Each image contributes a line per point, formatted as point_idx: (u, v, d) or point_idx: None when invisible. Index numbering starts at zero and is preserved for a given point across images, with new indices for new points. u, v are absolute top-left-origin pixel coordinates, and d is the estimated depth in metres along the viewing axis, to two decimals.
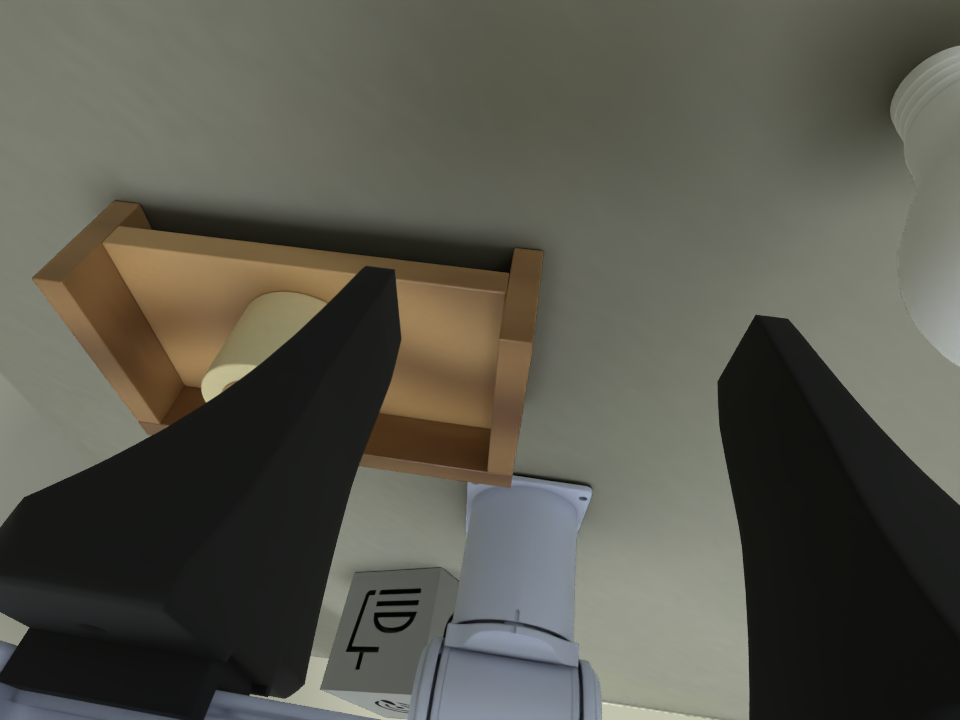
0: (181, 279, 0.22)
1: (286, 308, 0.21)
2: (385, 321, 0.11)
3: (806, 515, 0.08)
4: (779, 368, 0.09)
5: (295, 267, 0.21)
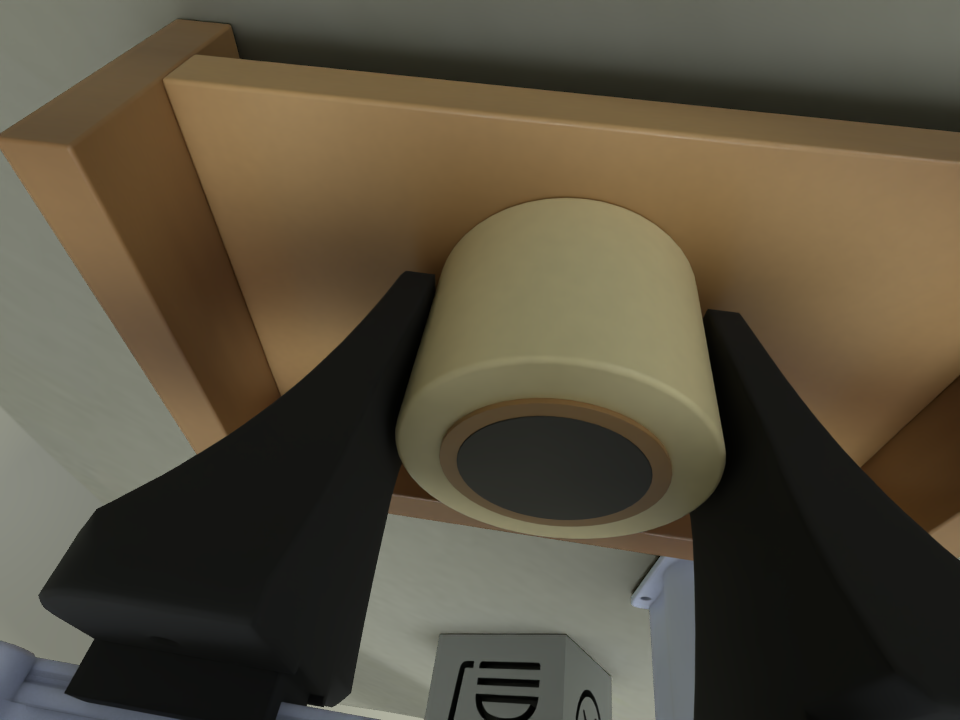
0: (331, 173, 0.10)
1: (590, 230, 0.09)
2: None
3: (744, 506, 0.08)
4: (725, 361, 0.09)
5: (625, 129, 0.09)
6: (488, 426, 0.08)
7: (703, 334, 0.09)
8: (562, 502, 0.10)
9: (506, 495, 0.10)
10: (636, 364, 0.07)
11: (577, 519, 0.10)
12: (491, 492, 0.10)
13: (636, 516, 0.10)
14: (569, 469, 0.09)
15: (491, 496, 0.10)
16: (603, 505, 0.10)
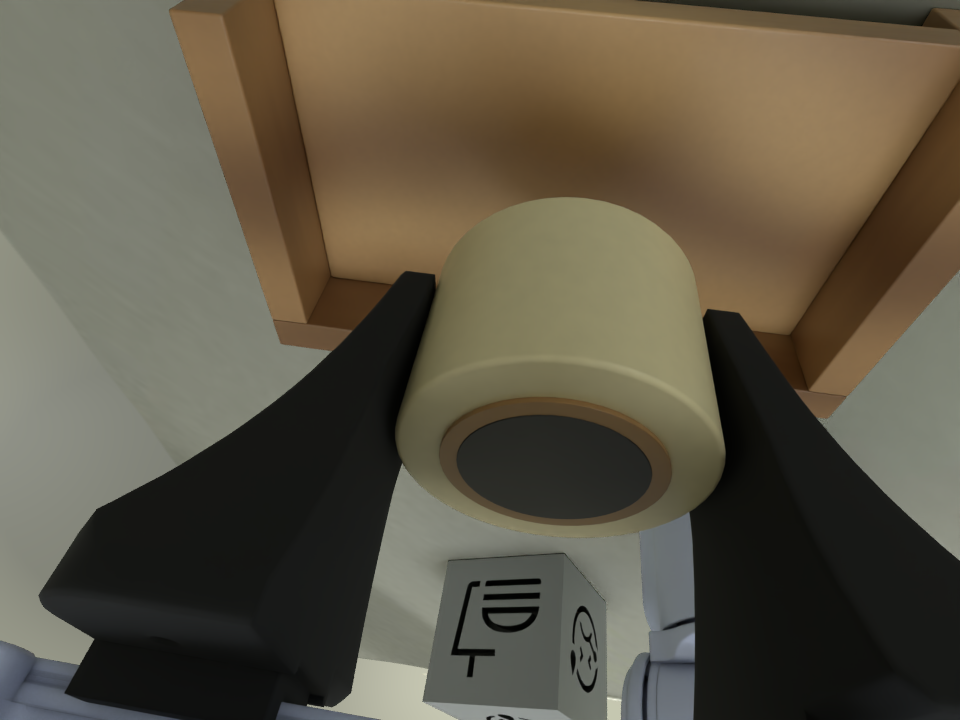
0: (388, 58, 0.14)
1: (590, 229, 0.09)
2: None
3: (744, 506, 0.08)
4: (725, 361, 0.09)
5: (605, 14, 0.12)
6: (488, 426, 0.08)
7: (703, 333, 0.09)
8: (562, 501, 0.10)
9: (506, 494, 0.10)
10: (635, 363, 0.07)
11: (577, 518, 0.10)
12: (491, 491, 0.10)
13: (636, 515, 0.10)
14: (569, 468, 0.09)
15: (491, 495, 0.10)
16: (602, 504, 0.10)
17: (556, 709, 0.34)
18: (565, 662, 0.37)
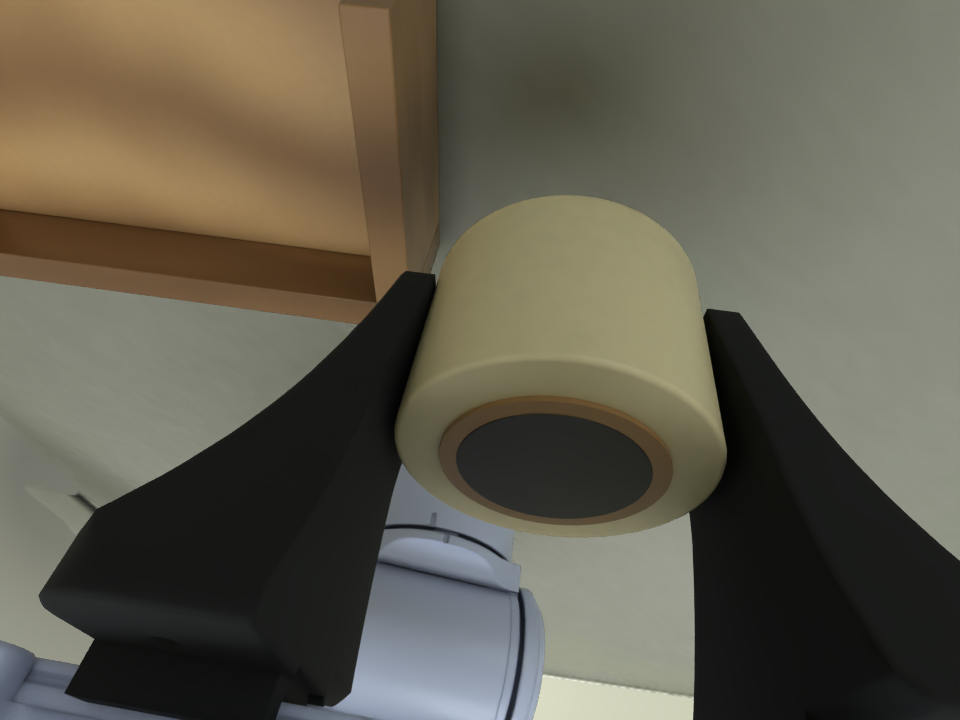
0: None
1: (590, 227, 0.09)
2: None
3: (744, 506, 0.08)
4: (725, 361, 0.09)
5: None
6: (487, 424, 0.08)
7: (704, 332, 0.09)
8: (562, 501, 0.10)
9: (506, 494, 0.10)
10: (635, 361, 0.07)
11: (577, 518, 0.10)
12: (491, 491, 0.10)
13: (636, 515, 0.10)
14: (569, 467, 0.09)
15: (491, 495, 0.10)
16: (603, 504, 0.10)
17: None
18: None
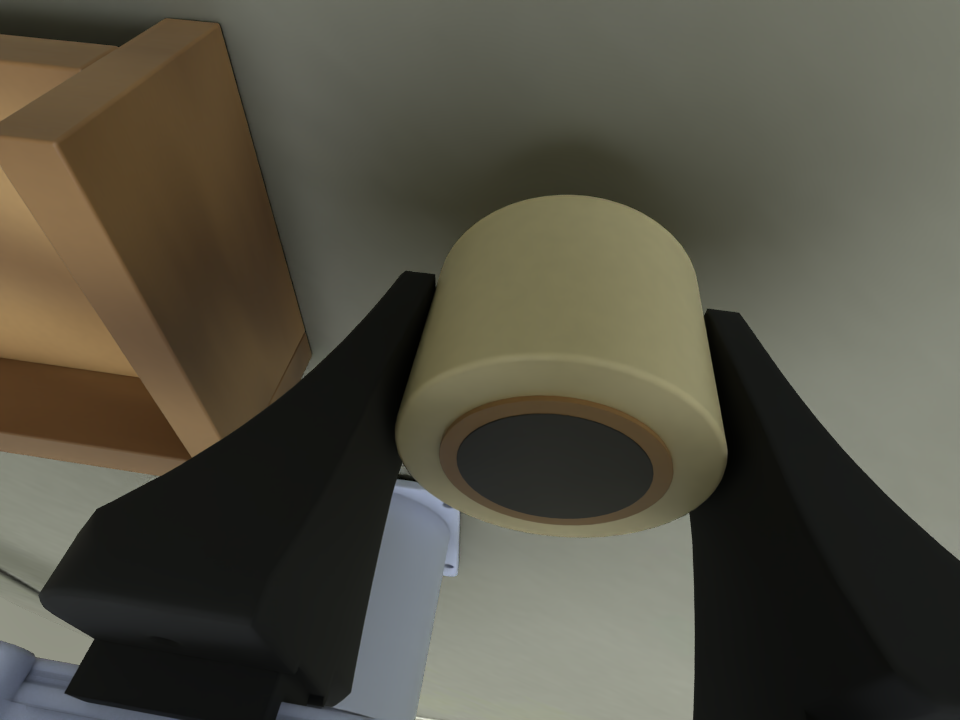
0: None
1: (591, 226, 0.09)
2: None
3: (744, 506, 0.08)
4: (725, 361, 0.09)
5: None
6: (488, 424, 0.08)
7: (704, 331, 0.09)
8: (563, 501, 0.10)
9: (506, 493, 0.10)
10: (637, 361, 0.07)
11: (578, 517, 0.10)
12: (491, 491, 0.10)
13: (637, 515, 0.10)
14: (570, 467, 0.09)
15: (491, 495, 0.10)
16: (603, 504, 0.10)
17: None
18: None
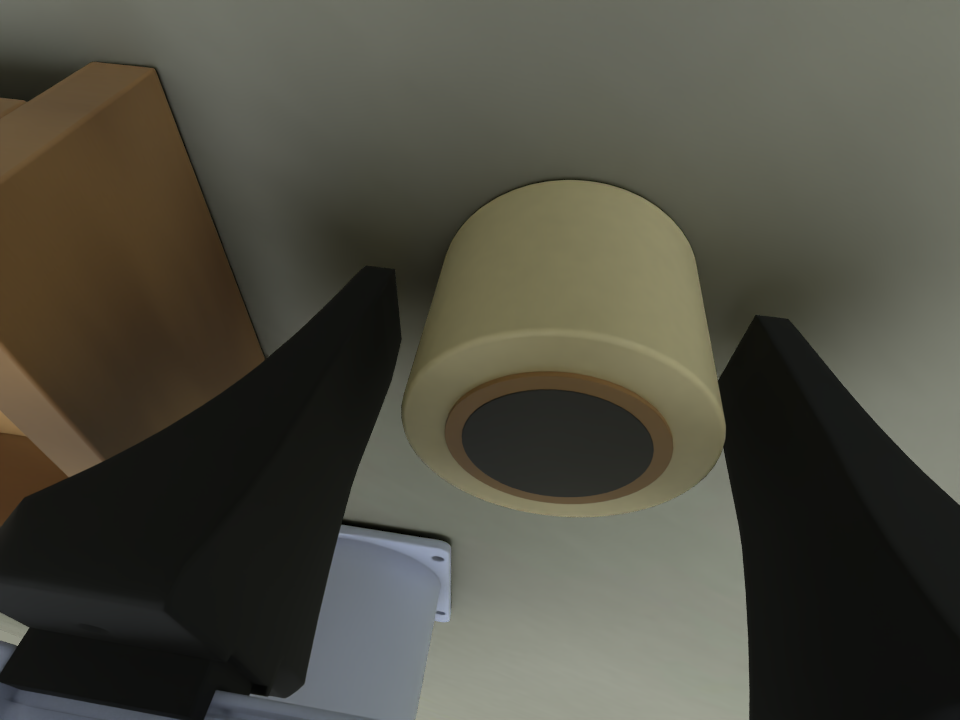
0: None
1: (593, 210, 0.09)
2: (385, 321, 0.11)
3: (806, 515, 0.08)
4: (780, 368, 0.09)
5: None
6: (493, 401, 0.09)
7: (703, 313, 0.10)
8: (565, 478, 0.10)
9: (510, 472, 0.10)
10: (637, 336, 0.08)
11: (579, 496, 0.10)
12: (495, 469, 0.10)
13: (638, 493, 0.10)
14: (572, 444, 0.09)
15: (495, 473, 0.10)
16: (605, 481, 0.10)
17: None
18: None
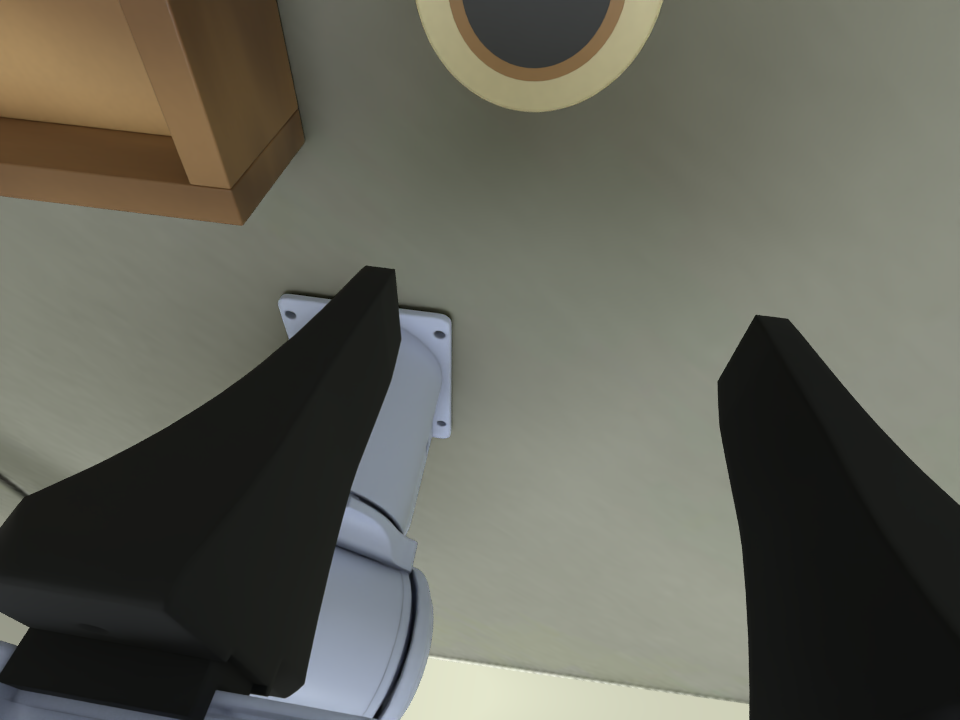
0: None
1: None
2: (385, 321, 0.11)
3: (806, 515, 0.08)
4: (779, 367, 0.09)
5: None
6: None
7: None
8: (545, 34, 0.12)
9: (500, 33, 0.12)
10: None
11: (557, 64, 0.13)
12: (488, 30, 0.12)
13: (604, 54, 0.12)
14: None
15: (488, 38, 0.12)
16: (576, 32, 0.12)
17: None
18: None
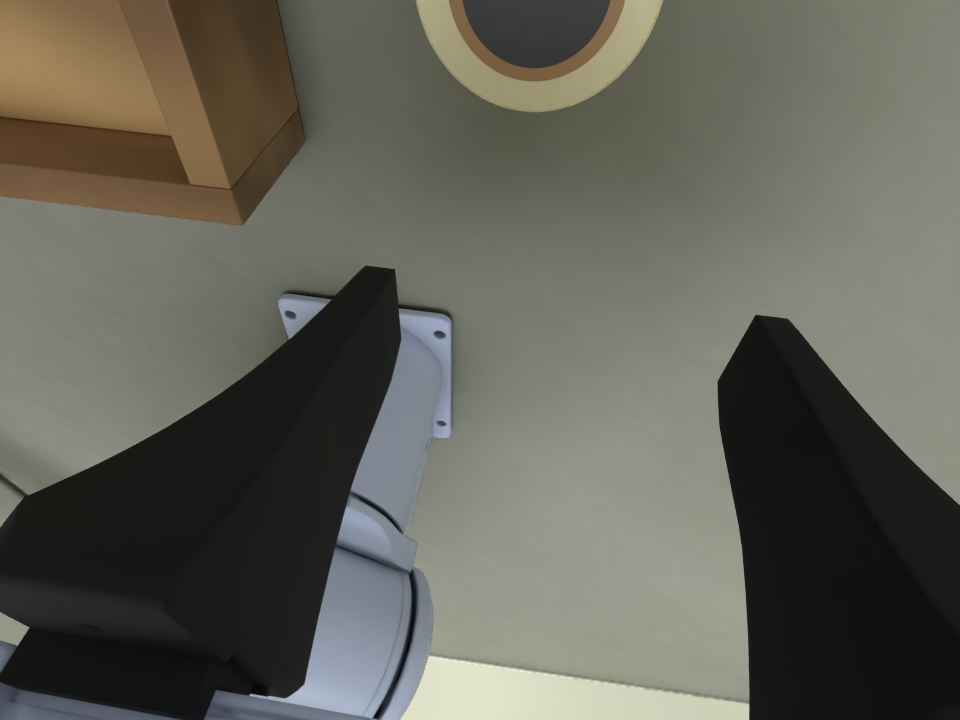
0: None
1: None
2: (385, 321, 0.11)
3: (806, 515, 0.08)
4: (779, 367, 0.09)
5: None
6: None
7: None
8: (545, 34, 0.12)
9: (500, 33, 0.12)
10: None
11: (557, 64, 0.13)
12: (488, 30, 0.12)
13: (604, 54, 0.12)
14: None
15: (488, 38, 0.12)
16: (576, 32, 0.12)
17: None
18: None
